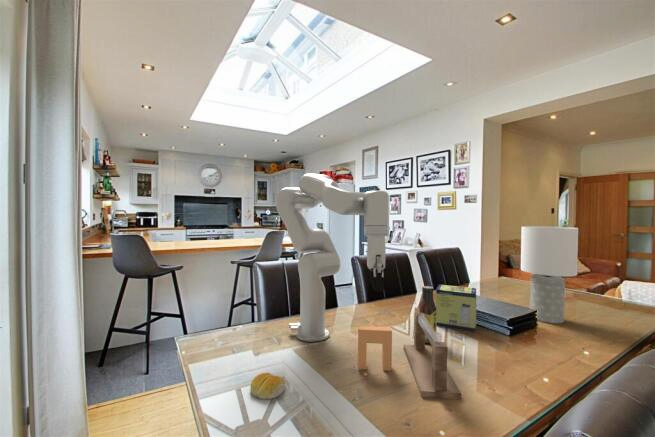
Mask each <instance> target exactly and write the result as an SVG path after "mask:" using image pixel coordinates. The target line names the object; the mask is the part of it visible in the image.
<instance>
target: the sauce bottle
mask: <svg viewBox="0 0 655 437" xmlns="http://www.w3.org/2000/svg"><path fill="white" fill-rule="evenodd" d="M434 290H435V288H434V287H433V286H430V285H425V286H422V287H421V291H422V298H421V301H420V303H419V305H418V306H419V307H418V308H419V310H418V311H419V312H418V313H424V314H425V316H426V319H427V321H428V322H429V324H430V325H431V327H432V328H433V330H434V331H435V332H436V333H437V327H438V326H437V309H436V302H435V301H434ZM425 344H431V343H430V341H429V339H428V338H427V336H426V334H425Z"/></svg>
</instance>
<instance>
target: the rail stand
mask: <svg viewBox="0 0 655 437" xmlns="http://www.w3.org/2000/svg"><path fill="white" fill-rule="evenodd" d="M413 330H414V331H413V334H414V335H413V344H403V351H404V355H405V357H406V359H407V362H408V365H409V367H410V368H409V369H410V371H411V373H412V375H413V379H414V382H415V384H416V387H417V389H418V392H419V395H420V397H421V398H436V399H450V400H451V399H452V400H455V399H456V400H462V392H461V390H460V389H459V387H458V385H457V383H456V382H455V380H454V379H453V377H452V376H451V373H450V372H449V370H448V346H447V344H446V343H445V342H444V341H442V340H441V339H440V337H439V335H438V334H437V331H436V332H435V331H434V330H433V328H432V327H431V325H430V324H429V322H428V321H427V319H426V316H425V314H424V313H419V312H414V329H413ZM425 334H426V336H427V338H428V339H429V341H430V343H429V344H431V345H426V343H425Z"/></svg>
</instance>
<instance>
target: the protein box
mask: <svg viewBox="0 0 655 437" xmlns="http://www.w3.org/2000/svg"><path fill="white" fill-rule="evenodd" d="M435 294H436V295H435V306H436V309H437V327H443V328H448V329H453V330H461V331H466V332H473V333H475V332H476V329H477V288H476V287H469V286H468V287H466V286H457V285H446V284H438V286H437V287H436V291H435Z"/></svg>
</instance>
